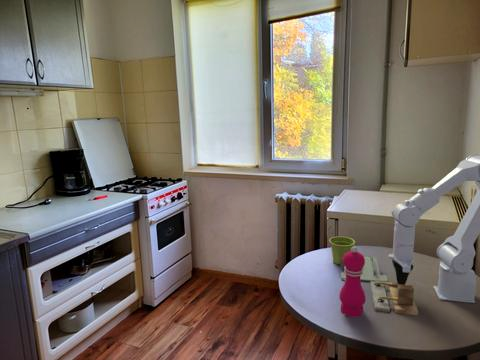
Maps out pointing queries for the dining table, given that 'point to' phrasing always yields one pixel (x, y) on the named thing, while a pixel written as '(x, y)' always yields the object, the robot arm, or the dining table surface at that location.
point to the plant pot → (340, 248)
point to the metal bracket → (370, 271)
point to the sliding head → (402, 295)
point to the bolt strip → (376, 292)
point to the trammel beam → (397, 307)
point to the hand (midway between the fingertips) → (401, 283)
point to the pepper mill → (352, 284)
